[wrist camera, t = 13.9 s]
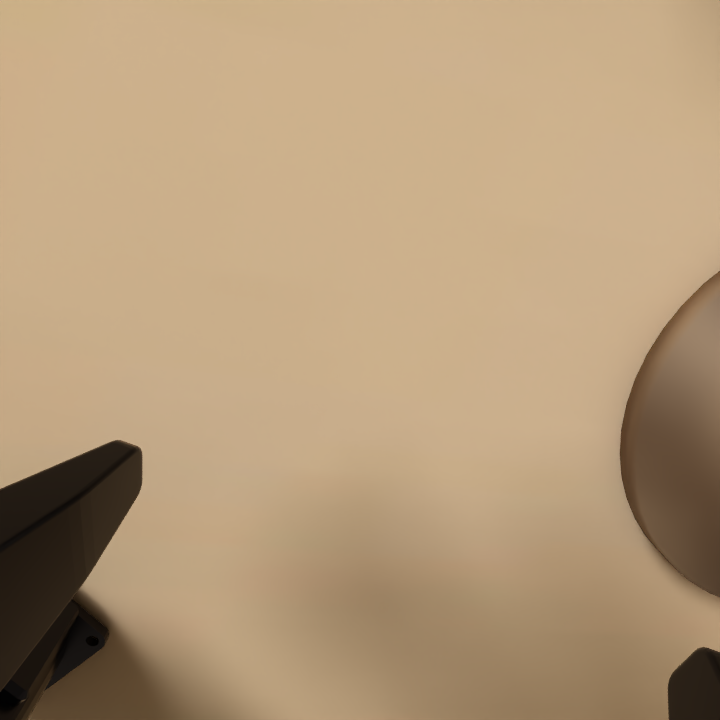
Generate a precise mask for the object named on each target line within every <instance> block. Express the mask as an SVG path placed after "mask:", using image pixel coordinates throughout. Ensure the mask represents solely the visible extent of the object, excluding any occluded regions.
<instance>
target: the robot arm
mask: <svg viewBox="0 0 720 720" xmlns="http://www.w3.org/2000/svg"><path fill="white" fill-rule="evenodd" d="M141 486H142V451H141V449H140V448H139V447H138V446H135V445H133V444H130V443H127V442H124V441H121V440H116V441H112V442H109V443H107V444H105V445H102V446H100V447H98V448H95V449H93V450H90V451H88V452H86V453H83V454H81V455H79V456H76V457H74V458H72V459H69V460H67V461H65V462H62V463H60V464H58V465H55V466H53V467H51V468H48V469H46V470H44V471H41V472H39V473H37V474H34V475H32V476H30V477H27V478H25V479H23V480H20V481H18V482H15V483H13V484H11V485H8V486H6V487H4V488H1V489H0V720H28V718H29V716H30V714H31V713H32V711H33V709H34V707H35V706H36V704H37V702H38V700H39V699H40V697H41V695H42V694H43V692H44V691H45V690H46V689H48V688H49V687H50V686H52V685H53V684H54V683H56V682H57V681H58V680H60V679H61V678H62V677H64V676H65V675H66V674H68V673H69V672H70V671H72V670H73V669H75V668H76V667H77V666H79V665H80V664H81V663H83V662H84V661H85V660H87V659H88V658H89V657H91V656H92V655H93V654H95V653H96V652H97V651H99V650H100V649H102V647H103V646H104V645H105V643H106V641H107V639H108V636H109V632H108V630H107V629H106V627H105V626H103V625H102V624H101V623H100V622H99V621H98V620H96V619H95V618H94V617H93V616H92V615H90V614H89V613H88V612H87V611H86V610H84V609H83V608H82V607H81V606H80V605H78V604H77V603H76V602H75V601H74V600H72V598H73V596H74V595H75V594H76V592H77V591H78V590H79V588H80V587H81V586H82V584H83V583H84V581H85V580H86V579H87V577H88V576H89V574H90V573H91V571H92V569H93V568H94V566H95V565H96V563H97V562H98V560H99V558H100V557H101V555H102V553H103V552H104V550H105V548H106V547H107V545H108V544H109V542H110V540H111V539H112V537H113V535H114V534H115V532H116V531H117V529H118V527H119V526H120V524H121V522H122V521H123V519H124V517H125V516H126V514H127V513H128V511H129V509H130V508H131V506H132V504H133V503H134V501H135V500H136V498H137V496H138V494H139V492H140V489H141ZM92 636H95V637H97V638H93V637H92ZM668 709H669V720H720V652H718V651H715V650H712V649H709V648H705V647H702V648H698V649H697V650H695V651H694V652H693V653H692V654H691V655H690V656H689V657H688V658H687V659H686V660H685V661H684V662H683V663H682V664H681V665H680V666H679V667H678V668H677V669H676V670H675V671H674V672H673V673H672V675H671V677H670V679H669V683H668Z"/></svg>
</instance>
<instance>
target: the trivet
mask: <svg viewBox="0 0 720 720" xmlns="http://www.w3.org/2000/svg"><path fill="white" fill-rule="evenodd" d="M620 461H621V474H622V480H623V484H624V488H625V493H626V497H627V500H628V502H629V505H630V507H631V510H632V512H633V515H634V517H635V519H636V520H637V522H638V524H639V525H640V527H641V529H642V530H643V532H644V533H645V535H646V536H647V537H648V539H649V540H650V541H651V542H652V543H653V544H654V546H655V547H656V548H657V549H658V550H659V551H660V552H661V553H662V554H663V556H664V557H665V558H666V559H667V560H668V561H669V562H670V563H671V564H672V565H673V566H674V567H675V568H676V569H677V570H678V571H679V572H680V573H681V574H683V575H684V576H685V577H686V578H687V579H689V580H690V581H691V582H692V583H694V584H696V585H697V586H699V587H701V588H702V589H704V590H706V591H707V592H709V593H711V594H713V595H716V596H718V597H720V271H719V272H718V273H717V274H715V275H714V276H713V277H712V278H710V279H709V280H708V281H707V282H705V283H704V284H703V285H702V286H701V287H700V288H699V289H698V290H697V291H696V292H695V293H694V294H693V295H692V296H691V297H690V298H689V299H688V300H687V301H686V302H685V303H684V304H683V305H682V306H681V307H680V309H679V310H678V311H677V312H676V314H675V315H674V316H673V317H672V319H671V320H670V321H669V322H668V324H667V325H666V326H665V327H664V329H663V330H662V332H661V333H660V335H659V336H658V338H657V340H656V341H655V343H654V344H653V346H652V347H651V349H650V351H649V352H648V354H647V356H646V358H645V360H644V362H643V364H642V366H641V368H640V370H639V372H638V374H637V377H636V379H635V381H634V384H633V387H632V390H631V393H630V396H629V399H628V402H627V405H626V410H625V415H624V420H623V425H622V430H621V445H620Z"/></svg>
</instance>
